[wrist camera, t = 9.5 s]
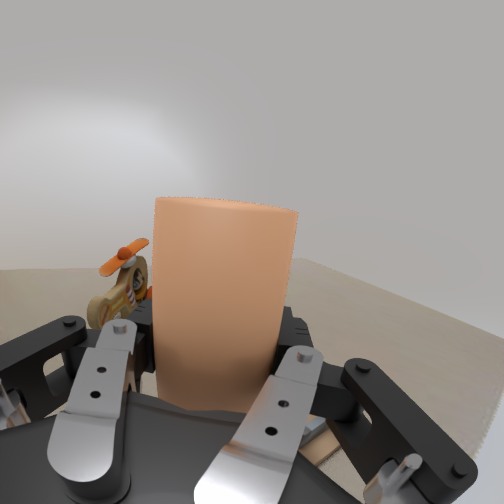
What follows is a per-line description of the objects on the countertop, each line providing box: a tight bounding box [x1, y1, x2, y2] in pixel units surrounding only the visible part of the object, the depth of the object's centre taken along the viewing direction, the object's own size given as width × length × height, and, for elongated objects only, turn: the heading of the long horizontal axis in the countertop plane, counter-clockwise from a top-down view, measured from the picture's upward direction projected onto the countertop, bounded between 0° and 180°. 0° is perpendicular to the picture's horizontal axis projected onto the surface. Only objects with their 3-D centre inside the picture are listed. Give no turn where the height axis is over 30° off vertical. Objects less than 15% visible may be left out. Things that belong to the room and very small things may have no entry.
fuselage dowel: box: [152, 197, 298, 413], centre depth 10 cm, size 5×5×12 cm
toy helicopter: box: [87, 238, 152, 330], centre depth 41 cm, size 8×21×14 cm, turn 1°
